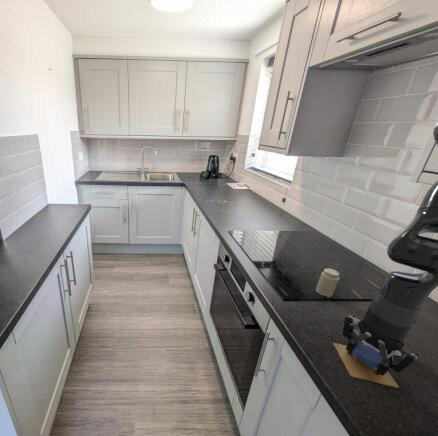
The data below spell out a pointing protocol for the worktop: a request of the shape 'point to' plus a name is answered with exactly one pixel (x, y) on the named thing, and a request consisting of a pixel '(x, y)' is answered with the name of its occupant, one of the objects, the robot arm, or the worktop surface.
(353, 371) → the coaster
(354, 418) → the worktop surface
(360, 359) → the lid
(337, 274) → the jar
